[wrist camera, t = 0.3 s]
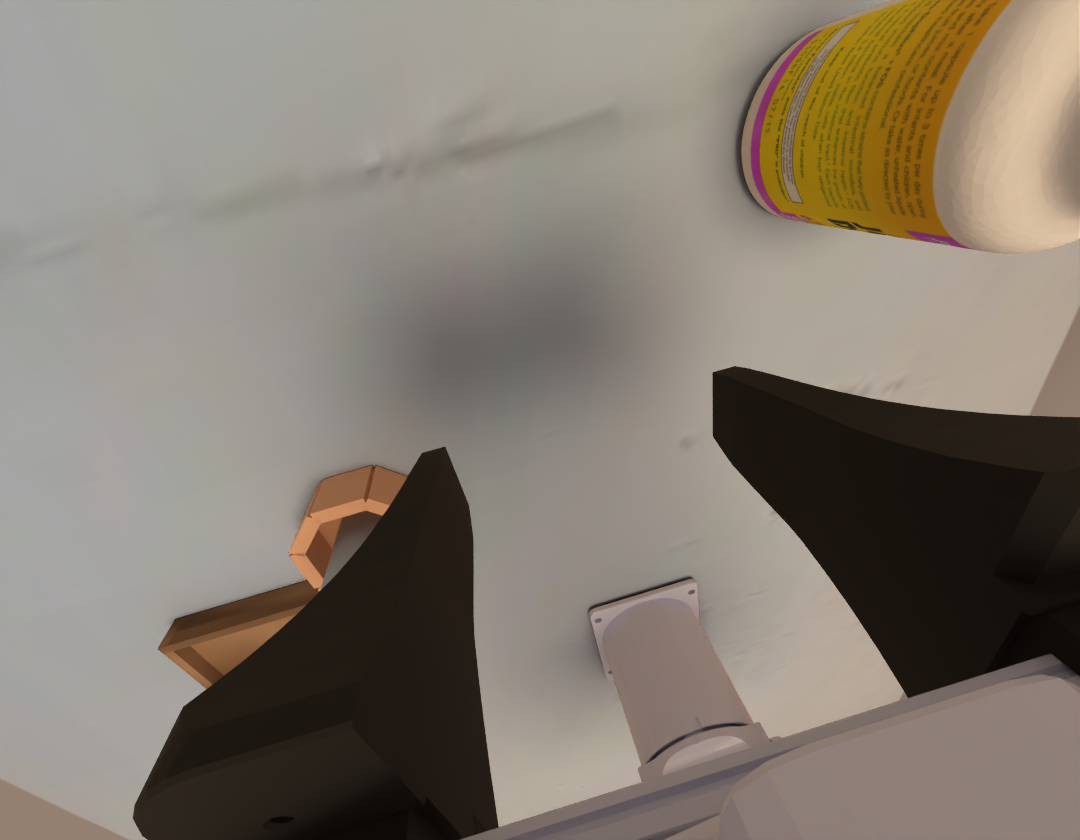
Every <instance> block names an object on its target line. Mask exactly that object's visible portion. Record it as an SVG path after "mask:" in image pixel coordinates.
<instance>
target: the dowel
mask: <svg viewBox="0 0 1080 840" xmlns="http://www.w3.org/2000/svg"><path fill="white" fill-rule="evenodd" d="M381 517H382V515H379V514H376V513H372V512H369V511H362V512H359V513H355V514H352V515H349V516H345V517H342V520H341V523H340V526H339V530H338V533H337V536H336V540H335V543H334V546H333V550H332V553H331V556H330V559H329V563H328V566H327V569H326V573H325V576H324V579H323V583H322V586H321V589H322V588H323V587H324V586H325V585H326V584H327V583H328V582H329V581H330V580H331V579H332V578H333V577H334V576H335V575H336V574H337V573H338V572H339V571H340V570H341V568H342V567H343V566H344V565H345V564H346V563H347V561H348V560H349V559H350V558H351V557H352V556H353V554H354V553H355V552H356V551H357V550H358V548H359V547H360V546H361V545H362V543H363V542H364V541H365V540H366V538H367V537H368V536H369V534H370V533H371V532H372V530H373V529H374V527H375V526H376V524H377V523H378V522H379V520H380V519H381ZM321 589H320V590H321Z"/></svg>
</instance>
